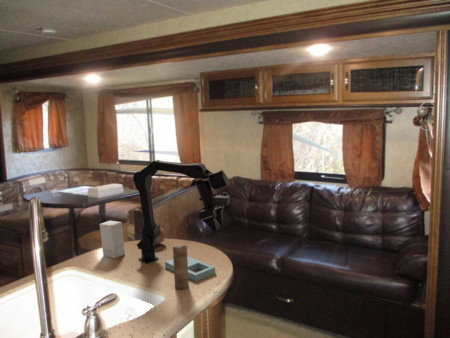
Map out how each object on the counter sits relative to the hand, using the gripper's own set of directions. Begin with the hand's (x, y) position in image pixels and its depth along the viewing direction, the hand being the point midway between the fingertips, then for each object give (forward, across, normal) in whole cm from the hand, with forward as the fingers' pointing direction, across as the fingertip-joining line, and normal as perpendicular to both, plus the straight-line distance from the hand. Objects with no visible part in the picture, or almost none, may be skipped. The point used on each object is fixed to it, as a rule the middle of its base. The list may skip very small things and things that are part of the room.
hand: (218, 228), depth 148 cm
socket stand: (+11, -8, +15) cm, 20 cm away
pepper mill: (+12, -23, +13) cm, 29 cm away
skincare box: (-1, +2, +54) cm, 54 cm away
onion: (+3, +18, +40) cm, 45 cm away
